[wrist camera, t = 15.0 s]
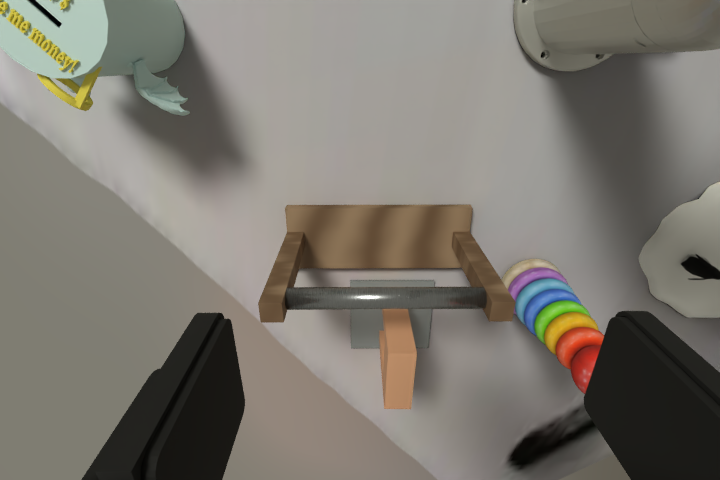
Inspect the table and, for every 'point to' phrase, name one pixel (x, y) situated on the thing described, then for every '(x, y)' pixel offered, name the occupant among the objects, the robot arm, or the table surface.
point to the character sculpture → (96, 44)
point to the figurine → (687, 257)
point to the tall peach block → (397, 359)
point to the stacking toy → (555, 316)
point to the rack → (382, 259)
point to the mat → (371, 320)
